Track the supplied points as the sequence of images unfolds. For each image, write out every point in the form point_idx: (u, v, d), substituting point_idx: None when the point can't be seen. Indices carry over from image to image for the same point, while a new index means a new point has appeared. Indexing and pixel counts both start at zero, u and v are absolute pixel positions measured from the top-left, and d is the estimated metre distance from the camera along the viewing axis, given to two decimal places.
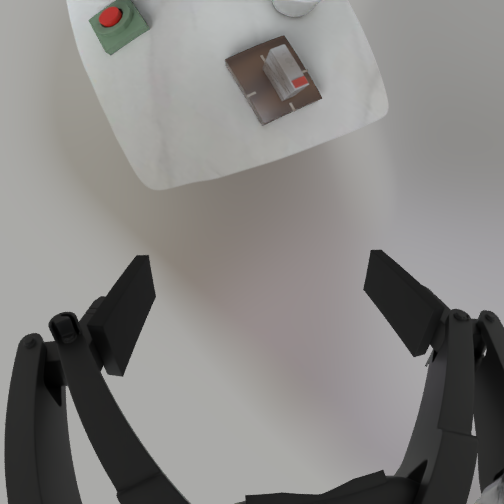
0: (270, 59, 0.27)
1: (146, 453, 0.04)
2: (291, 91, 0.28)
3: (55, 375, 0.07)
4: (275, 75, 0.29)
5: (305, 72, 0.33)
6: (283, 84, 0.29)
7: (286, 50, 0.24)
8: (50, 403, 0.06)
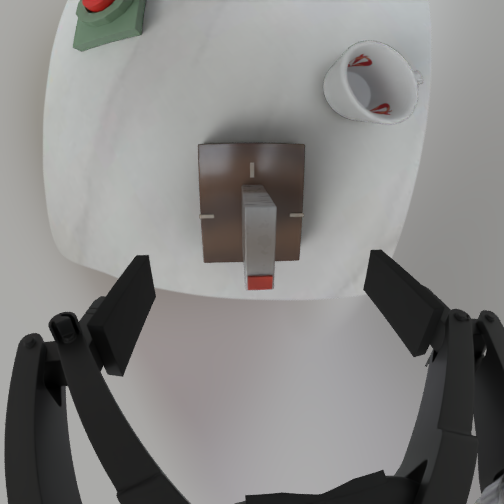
0: None
1: (146, 453, 0.04)
2: None
3: (55, 375, 0.07)
4: None
5: (298, 217, 0.26)
6: None
7: (271, 220, 0.17)
8: (50, 403, 0.06)
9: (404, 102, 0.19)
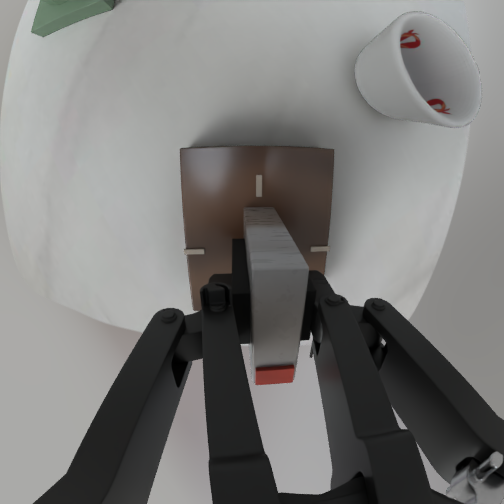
0: (248, 261, 0.11)
1: (258, 433, 0.05)
2: None
3: (195, 348, 0.10)
4: None
5: (322, 251, 0.19)
6: None
7: (299, 289, 0.10)
8: (169, 384, 0.08)
9: (464, 99, 0.11)
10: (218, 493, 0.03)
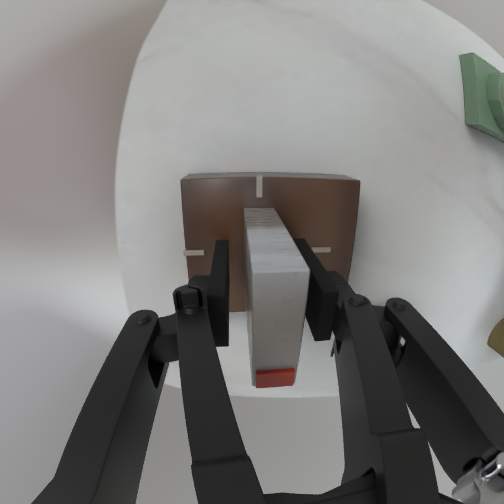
0: None
1: (238, 434, 0.05)
2: None
3: (170, 350, 0.10)
4: None
5: None
6: (248, 319, 0.14)
7: (300, 292, 0.09)
8: (147, 384, 0.08)
9: None
10: (203, 496, 0.03)
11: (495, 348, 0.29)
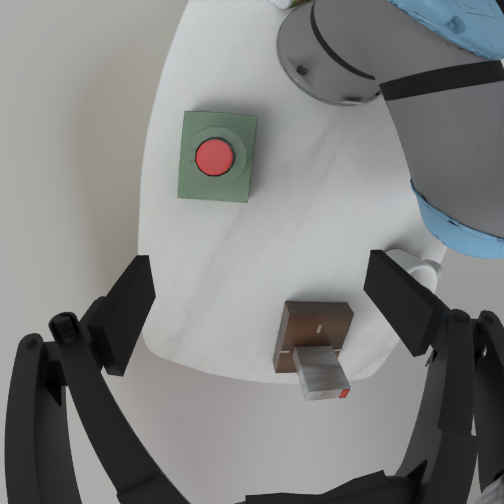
0: None
1: (146, 453, 0.04)
2: None
3: (55, 375, 0.07)
4: None
5: (338, 350, 0.39)
6: None
7: (314, 392, 0.30)
8: (50, 403, 0.06)
9: None
10: None
11: None
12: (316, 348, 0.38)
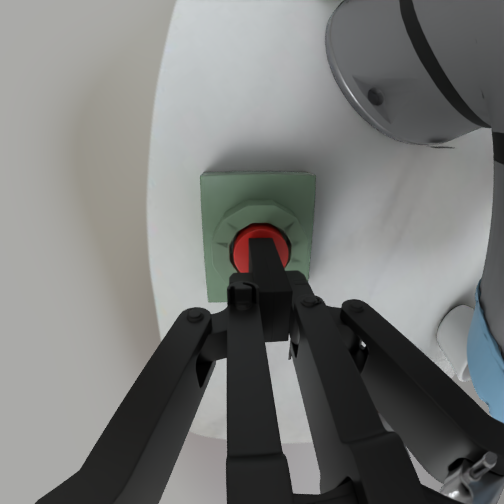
0: None
1: (277, 432, 0.05)
2: None
3: (221, 347, 0.10)
4: None
5: None
6: None
7: None
8: (192, 384, 0.08)
9: None
10: (233, 490, 0.03)
11: None
12: None
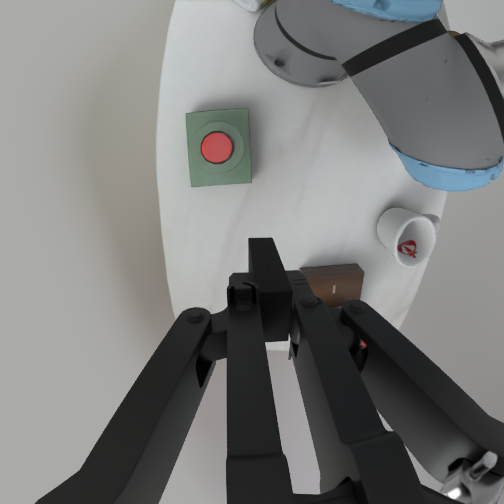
0: None
1: (277, 432, 0.05)
2: None
3: (221, 347, 0.10)
4: None
5: None
6: None
7: None
8: (192, 384, 0.08)
9: (425, 247, 0.35)
10: (233, 490, 0.03)
11: None
12: None
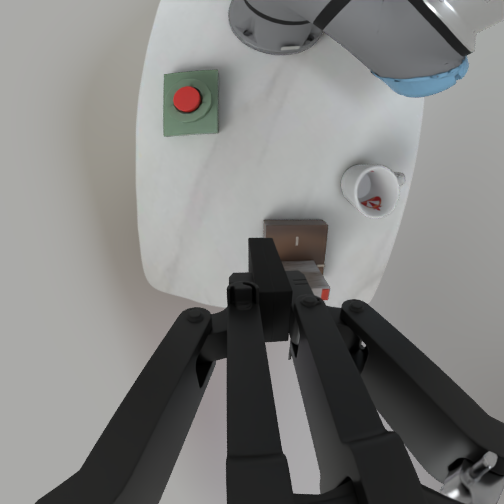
0: None
1: (277, 432, 0.05)
2: None
3: (222, 347, 0.10)
4: None
5: (322, 266, 0.44)
6: None
7: None
8: (192, 384, 0.08)
9: (389, 200, 0.37)
10: (233, 490, 0.03)
11: None
12: (298, 262, 0.43)
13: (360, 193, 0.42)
